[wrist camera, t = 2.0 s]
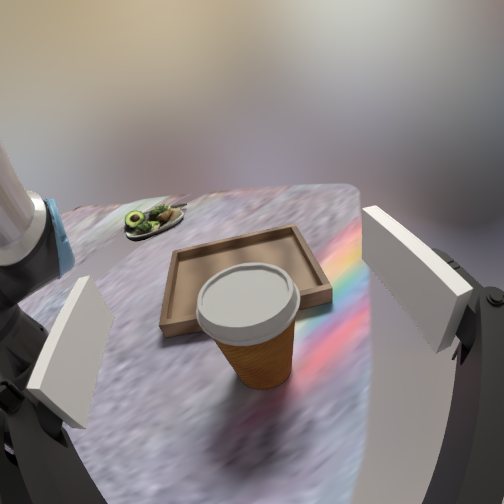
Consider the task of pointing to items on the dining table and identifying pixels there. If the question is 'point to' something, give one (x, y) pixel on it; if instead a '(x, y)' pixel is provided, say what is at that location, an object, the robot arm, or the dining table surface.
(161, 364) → the dining table surface
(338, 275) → the dining table surface
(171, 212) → the salad plate
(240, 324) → the disposable coffee cup
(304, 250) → the serving tray
